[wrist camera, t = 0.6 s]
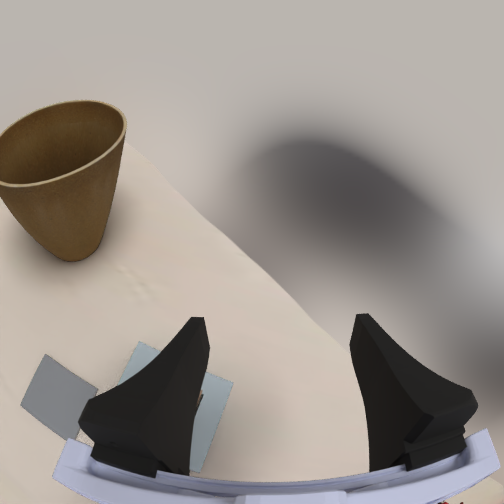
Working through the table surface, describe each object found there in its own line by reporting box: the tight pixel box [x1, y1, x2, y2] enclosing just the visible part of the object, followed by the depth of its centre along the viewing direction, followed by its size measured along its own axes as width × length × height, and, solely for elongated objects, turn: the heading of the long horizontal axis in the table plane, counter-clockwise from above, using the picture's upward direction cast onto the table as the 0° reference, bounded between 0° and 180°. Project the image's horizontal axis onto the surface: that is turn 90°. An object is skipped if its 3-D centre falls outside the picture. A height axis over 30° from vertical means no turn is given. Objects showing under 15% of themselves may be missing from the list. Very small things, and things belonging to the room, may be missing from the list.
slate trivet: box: [21, 354, 98, 441], centre depth 19 cm, size 7×7×1 cm
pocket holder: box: [117, 341, 233, 473], centre depth 22 cm, size 10×10×2 cm
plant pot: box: [0, 100, 127, 261], centre depth 25 cm, size 15×15×16 cm
